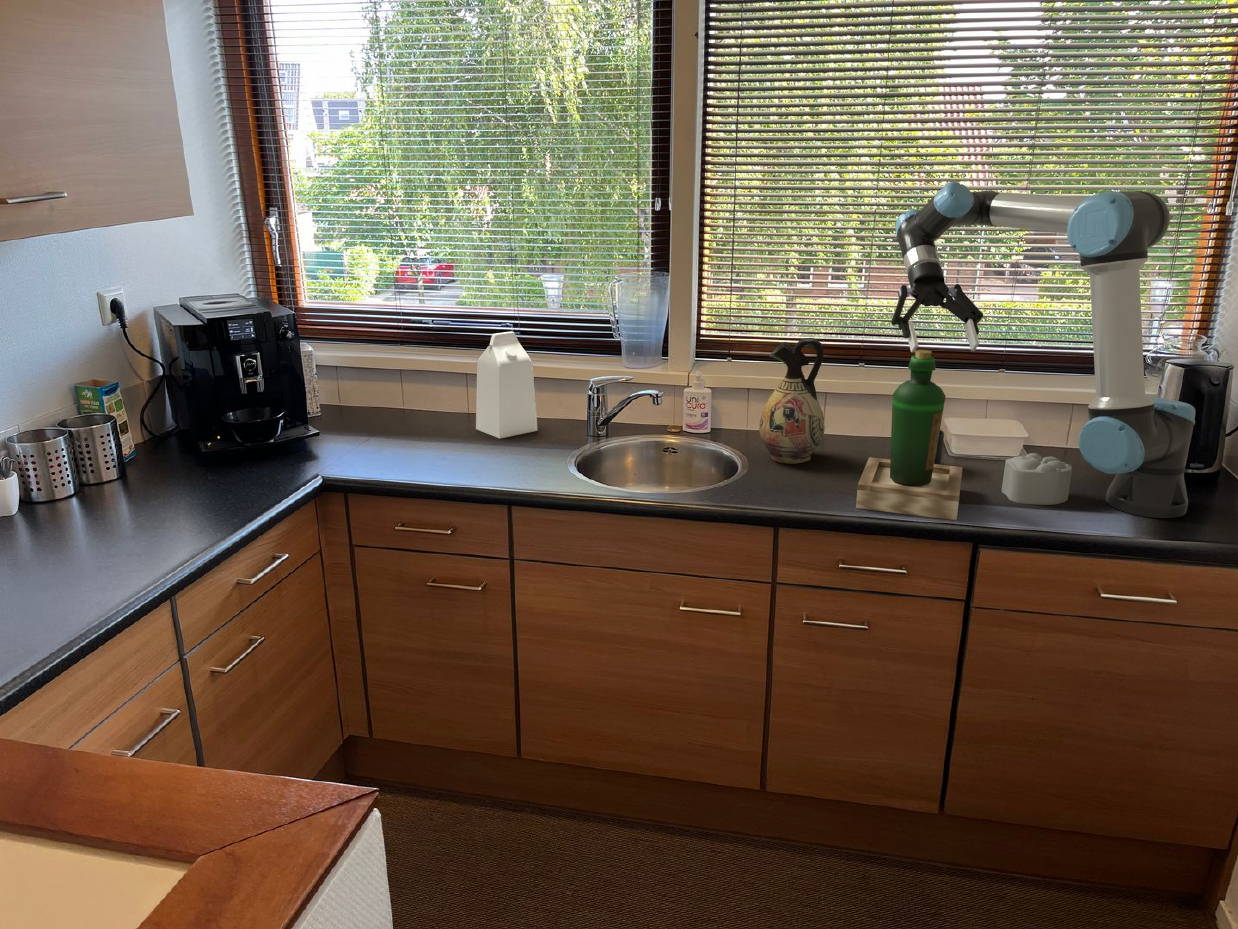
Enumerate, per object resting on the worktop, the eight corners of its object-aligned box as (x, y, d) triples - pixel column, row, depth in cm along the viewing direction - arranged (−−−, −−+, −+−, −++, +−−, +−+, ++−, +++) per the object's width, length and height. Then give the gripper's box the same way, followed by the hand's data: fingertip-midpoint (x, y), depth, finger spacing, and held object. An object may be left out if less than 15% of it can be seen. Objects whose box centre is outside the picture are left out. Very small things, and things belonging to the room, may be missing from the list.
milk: (513, 421, 265) (510, 327, 257) (537, 430, 257) (535, 333, 249) (476, 429, 258) (471, 332, 250) (499, 438, 249) (495, 339, 241)
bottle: (947, 485, 203) (962, 354, 194) (905, 491, 199) (918, 358, 191) (915, 470, 213) (928, 345, 204) (874, 476, 209) (885, 348, 200)
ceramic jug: (754, 466, 228) (760, 340, 219) (761, 447, 242) (767, 329, 233) (827, 471, 224) (837, 344, 215) (830, 452, 239) (839, 332, 229)
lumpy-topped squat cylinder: (997, 487, 214) (1002, 450, 212) (1057, 489, 214) (1063, 451, 211) (1013, 504, 204) (1019, 465, 202) (1076, 505, 204) (1082, 466, 201)
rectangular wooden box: (959, 489, 213) (962, 467, 211) (956, 520, 195) (959, 496, 193) (867, 478, 219) (869, 457, 218) (855, 507, 202) (857, 484, 200)
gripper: (970, 280, 224) (993, 356, 214) (865, 282, 222) (884, 359, 212) (983, 259, 217) (1007, 336, 207) (875, 260, 215) (894, 339, 205)
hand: (945, 348), depth 209 cm, fingers open, 13 cm apart
